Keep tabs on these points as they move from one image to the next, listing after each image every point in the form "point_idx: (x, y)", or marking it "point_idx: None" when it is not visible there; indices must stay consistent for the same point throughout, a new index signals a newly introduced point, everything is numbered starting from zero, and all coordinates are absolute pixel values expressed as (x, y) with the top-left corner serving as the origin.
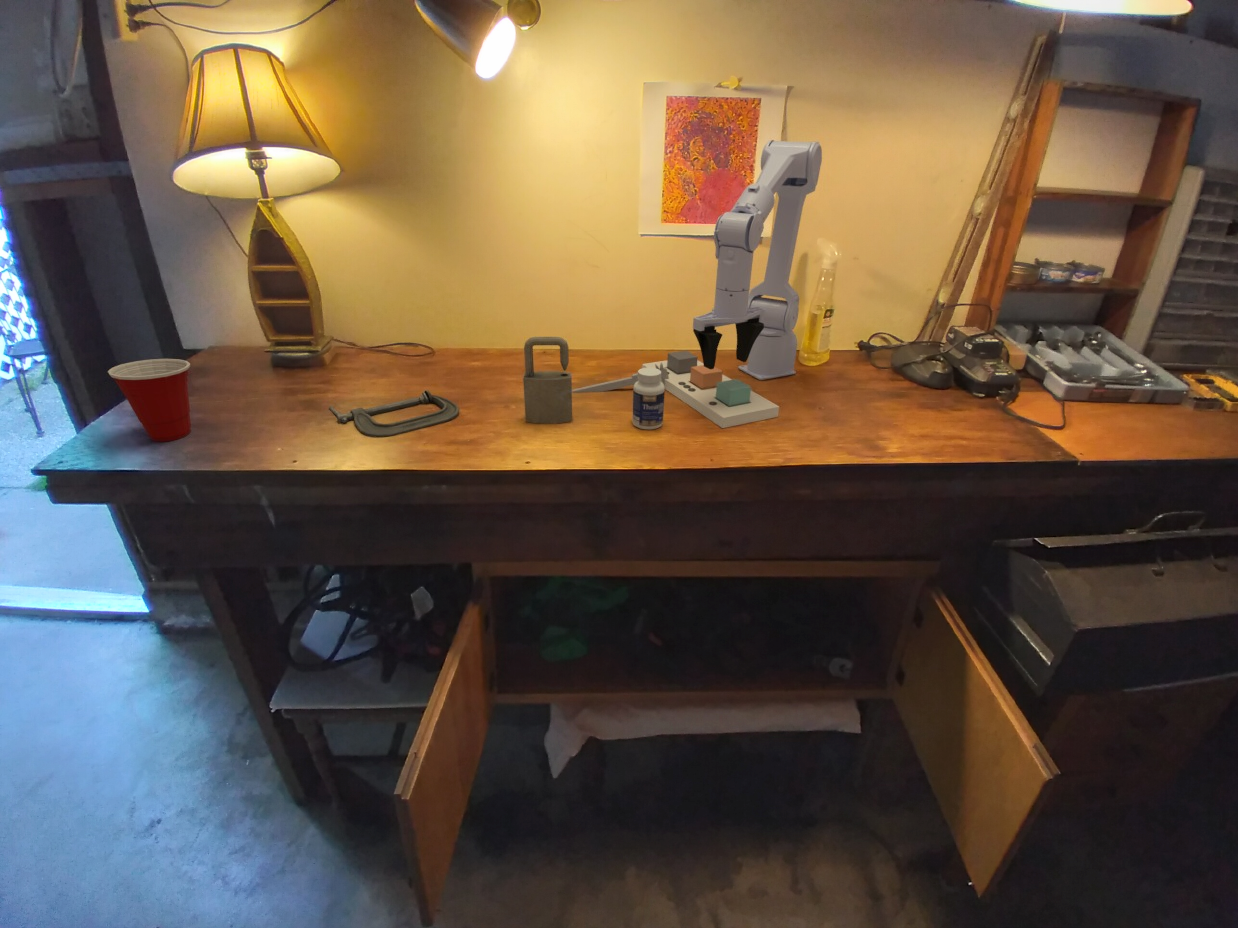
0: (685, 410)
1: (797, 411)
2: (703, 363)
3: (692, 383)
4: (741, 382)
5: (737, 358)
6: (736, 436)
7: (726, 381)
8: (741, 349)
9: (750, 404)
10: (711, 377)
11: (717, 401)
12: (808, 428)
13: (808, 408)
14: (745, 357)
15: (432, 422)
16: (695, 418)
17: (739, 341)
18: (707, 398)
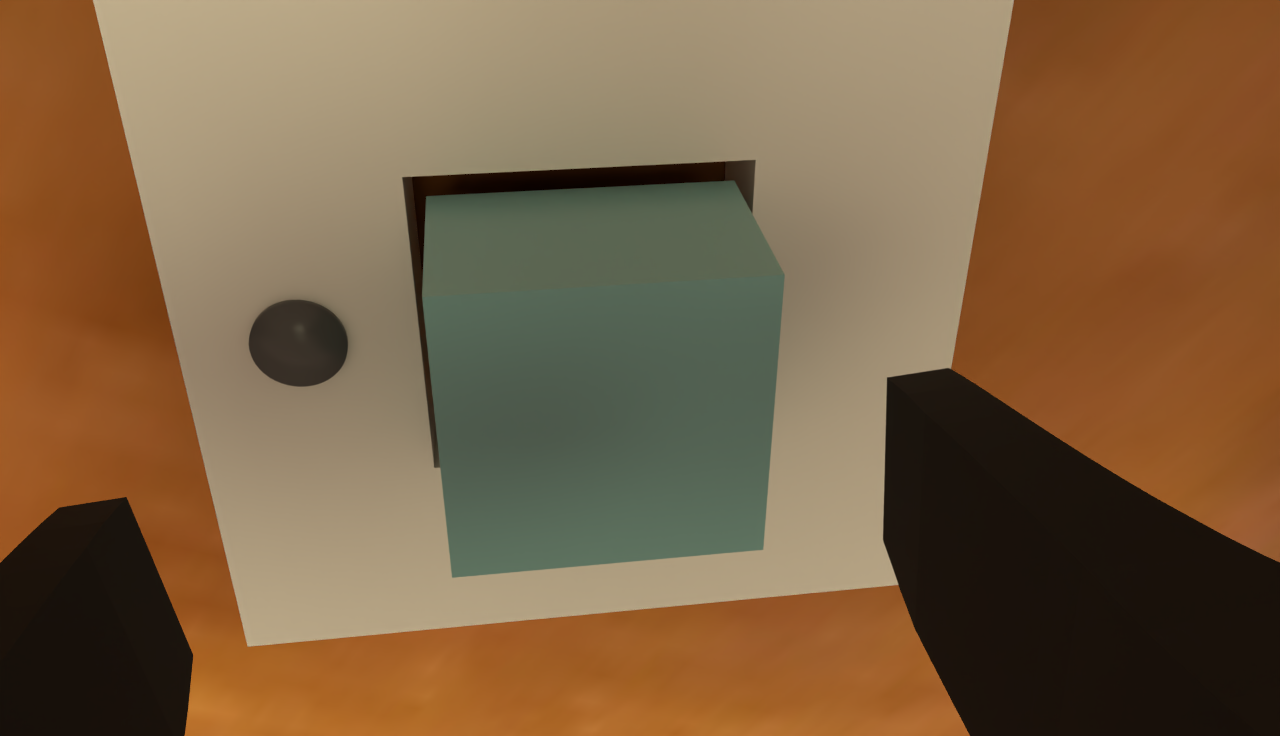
0: (26, 79)
1: (1118, 472)
2: (27, 541)
3: None
4: (752, 404)
5: (895, 404)
6: (311, 701)
7: (582, 307)
8: (976, 602)
9: None
10: None
11: (389, 303)
12: (925, 718)
13: (1250, 450)
14: (917, 624)
15: None
16: (76, 314)
17: (1065, 633)
18: (307, 181)
